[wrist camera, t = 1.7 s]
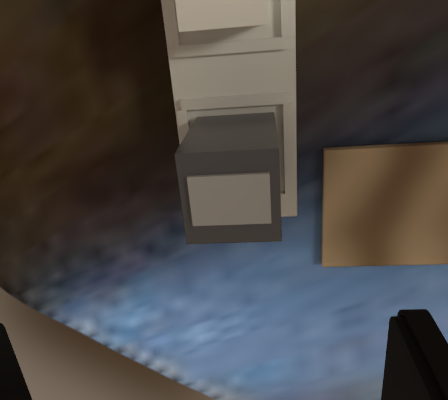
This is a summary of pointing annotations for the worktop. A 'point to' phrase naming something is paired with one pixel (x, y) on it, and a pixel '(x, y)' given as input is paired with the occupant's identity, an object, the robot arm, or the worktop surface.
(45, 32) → the worktop surface
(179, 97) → the power strip
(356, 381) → the worktop surface
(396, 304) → the worktop surface
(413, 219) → the coaster
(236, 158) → the block
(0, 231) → the worktop surface
